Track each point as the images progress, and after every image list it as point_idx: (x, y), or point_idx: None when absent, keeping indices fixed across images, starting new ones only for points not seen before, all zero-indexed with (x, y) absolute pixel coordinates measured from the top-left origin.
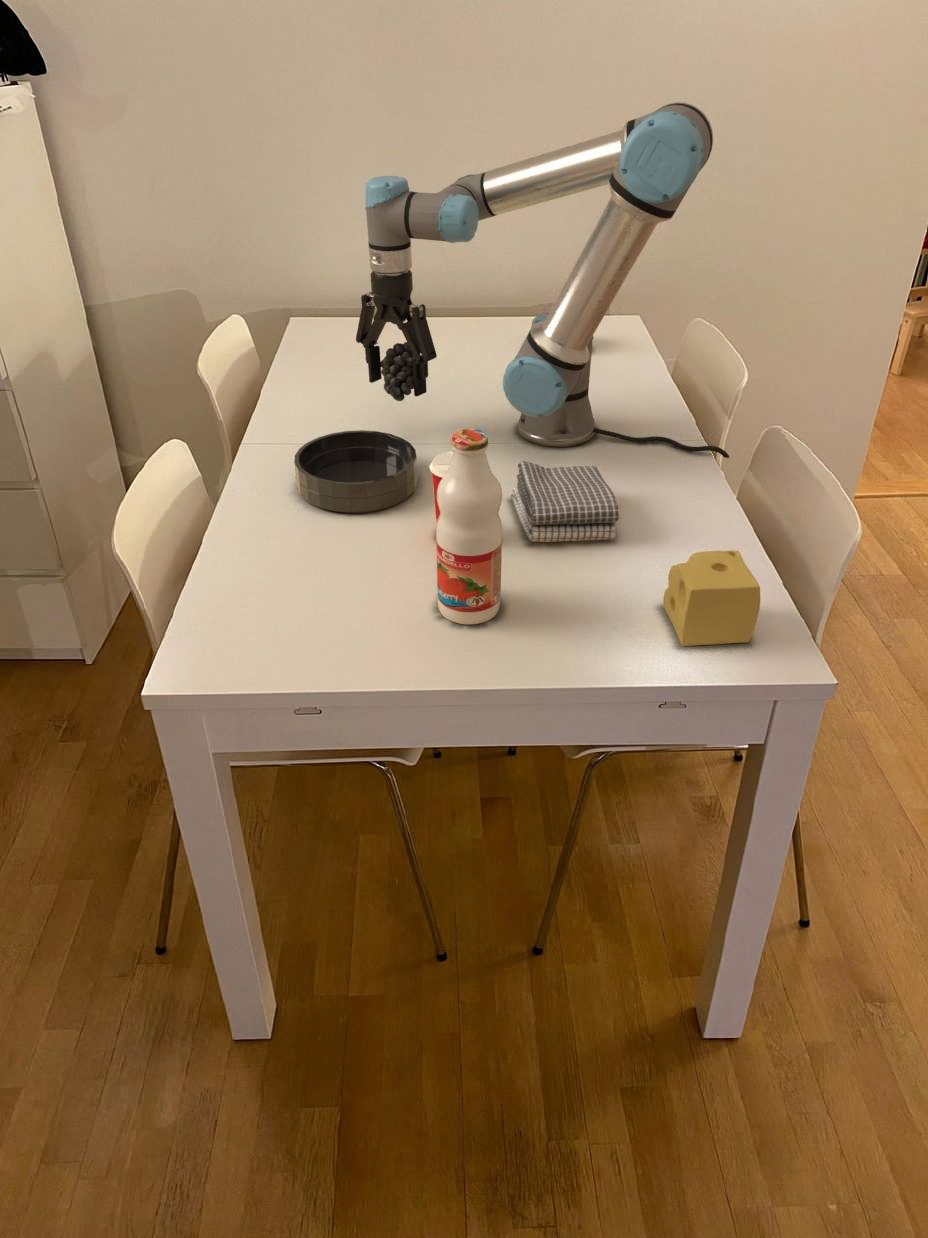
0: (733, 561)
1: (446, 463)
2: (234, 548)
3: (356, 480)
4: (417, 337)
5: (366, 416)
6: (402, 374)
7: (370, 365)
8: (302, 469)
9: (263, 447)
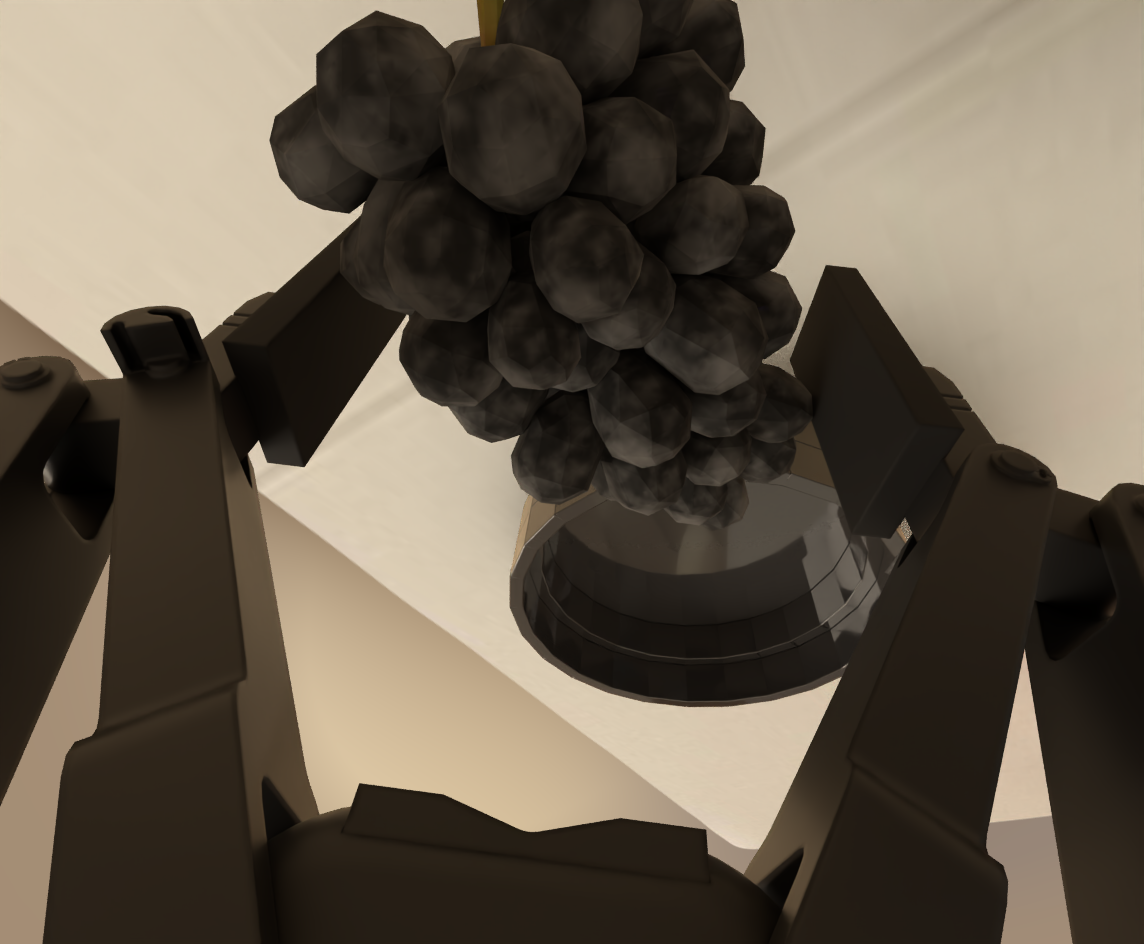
0: None
1: None
2: (622, 729)
3: (683, 533)
4: (1059, 821)
5: (290, 41)
6: (733, 478)
7: (355, 381)
8: (616, 690)
9: (295, 486)
